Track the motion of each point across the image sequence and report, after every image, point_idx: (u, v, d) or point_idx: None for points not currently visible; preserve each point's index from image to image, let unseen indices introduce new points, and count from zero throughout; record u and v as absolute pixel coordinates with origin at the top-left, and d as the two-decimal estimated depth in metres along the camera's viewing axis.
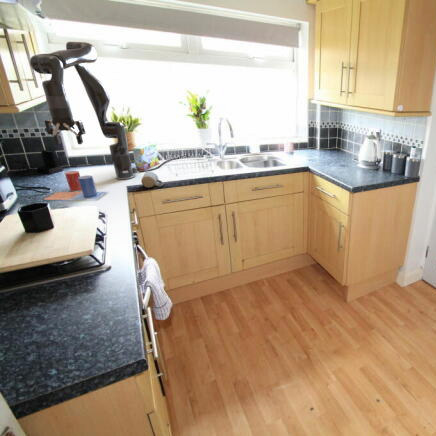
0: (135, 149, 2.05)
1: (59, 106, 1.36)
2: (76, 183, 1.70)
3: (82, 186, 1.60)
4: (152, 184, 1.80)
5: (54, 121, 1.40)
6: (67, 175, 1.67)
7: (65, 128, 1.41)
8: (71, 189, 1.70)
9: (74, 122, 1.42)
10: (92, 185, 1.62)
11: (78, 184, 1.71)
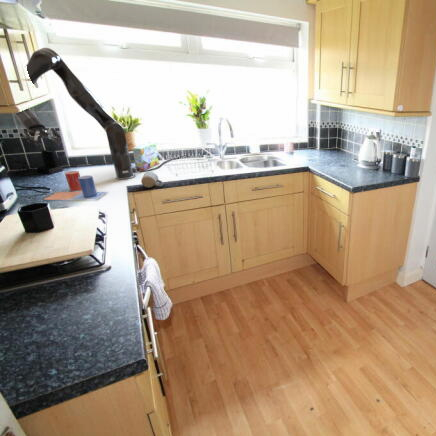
0: (135, 149, 2.05)
1: None
2: (76, 183, 1.70)
3: (82, 186, 1.60)
4: (152, 184, 1.80)
5: None
6: (67, 175, 1.67)
7: None
8: (71, 189, 1.70)
9: None
10: (92, 185, 1.62)
11: (78, 184, 1.71)
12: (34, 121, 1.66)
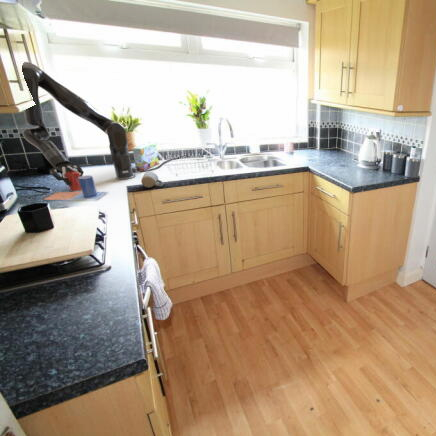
0: (135, 149, 2.05)
1: None
2: (76, 183, 1.70)
3: (82, 186, 1.60)
4: (152, 184, 1.80)
5: None
6: (67, 175, 1.67)
7: None
8: (71, 189, 1.70)
9: None
10: (92, 185, 1.62)
11: (78, 184, 1.71)
12: (60, 158, 1.68)
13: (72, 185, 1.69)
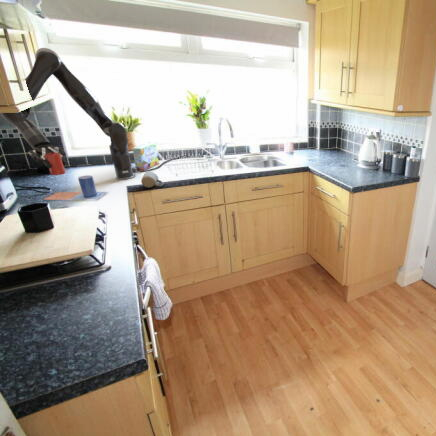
0: (135, 149, 2.05)
1: None
2: (57, 166, 1.57)
3: (82, 186, 1.60)
4: (152, 184, 1.80)
5: None
6: (47, 156, 1.54)
7: None
8: (52, 172, 1.57)
9: None
10: (92, 185, 1.62)
11: (59, 167, 1.58)
12: (40, 138, 1.55)
13: (52, 167, 1.57)
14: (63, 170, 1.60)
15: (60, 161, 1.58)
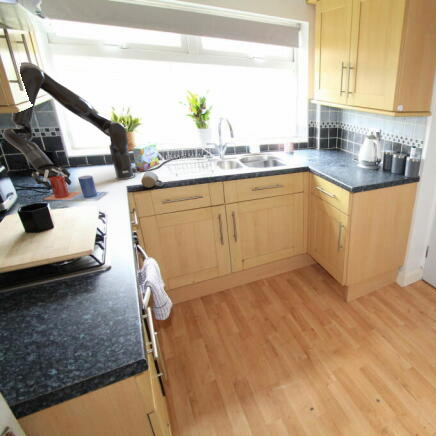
0: (135, 149, 2.05)
1: None
2: (61, 189, 1.60)
3: (82, 186, 1.60)
4: (152, 184, 1.80)
5: None
6: (51, 180, 1.57)
7: None
8: (56, 195, 1.60)
9: None
10: (92, 185, 1.62)
11: (63, 190, 1.61)
12: (43, 161, 1.58)
13: (56, 191, 1.59)
14: (67, 193, 1.63)
15: (64, 184, 1.61)
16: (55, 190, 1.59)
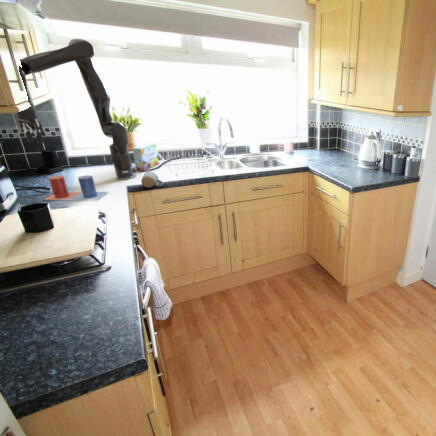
0: (135, 149, 2.05)
1: None
2: (61, 189, 1.60)
3: (82, 186, 1.60)
4: (152, 184, 1.80)
5: (23, 121, 1.56)
6: (51, 180, 1.57)
7: None
8: (56, 195, 1.60)
9: None
10: (92, 185, 1.62)
11: (63, 190, 1.61)
12: None
13: (56, 191, 1.59)
14: (67, 193, 1.63)
15: (64, 184, 1.61)
16: (55, 190, 1.59)
